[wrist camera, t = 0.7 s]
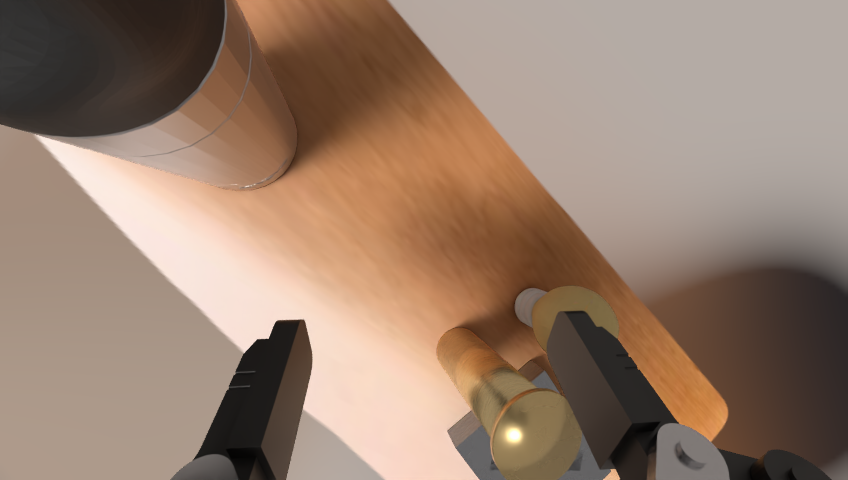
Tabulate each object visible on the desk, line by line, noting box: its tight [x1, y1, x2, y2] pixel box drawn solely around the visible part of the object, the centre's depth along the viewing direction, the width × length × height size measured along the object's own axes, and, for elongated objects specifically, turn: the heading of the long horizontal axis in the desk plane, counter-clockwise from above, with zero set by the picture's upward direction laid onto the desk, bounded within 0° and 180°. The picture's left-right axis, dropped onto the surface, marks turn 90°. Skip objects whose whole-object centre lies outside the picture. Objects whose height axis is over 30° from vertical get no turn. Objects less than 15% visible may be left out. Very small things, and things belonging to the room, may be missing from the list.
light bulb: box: [515, 285, 619, 353], centre depth 29 cm, size 6×6×10 cm
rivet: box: [437, 327, 582, 480], centre depth 26 cm, size 6×6×14 cm
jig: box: [447, 360, 611, 480], centre depth 33 cm, size 14×11×2 cm
